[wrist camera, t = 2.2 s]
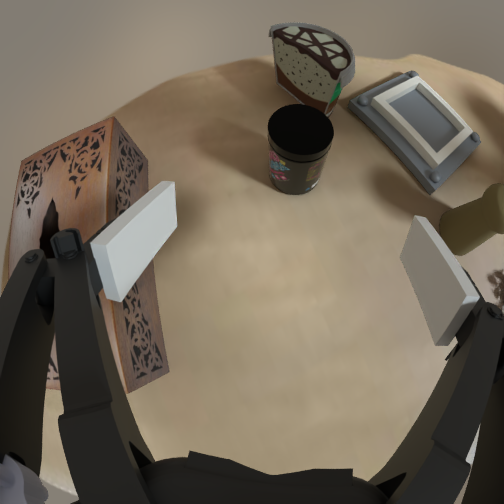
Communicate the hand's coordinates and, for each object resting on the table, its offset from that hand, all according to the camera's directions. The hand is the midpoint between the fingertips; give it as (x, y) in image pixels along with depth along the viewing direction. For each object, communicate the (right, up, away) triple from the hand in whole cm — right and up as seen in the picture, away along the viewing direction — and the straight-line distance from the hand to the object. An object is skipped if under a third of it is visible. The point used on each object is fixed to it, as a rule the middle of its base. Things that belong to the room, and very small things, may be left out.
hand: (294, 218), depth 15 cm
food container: (+6, +20, +20) cm, 29 cm away
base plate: (+22, +16, +18) cm, 33 cm away
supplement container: (+3, +7, +17) cm, 19 cm away
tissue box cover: (-20, -4, +17) cm, 27 cm away
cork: (+24, +1, +14) cm, 28 cm away
